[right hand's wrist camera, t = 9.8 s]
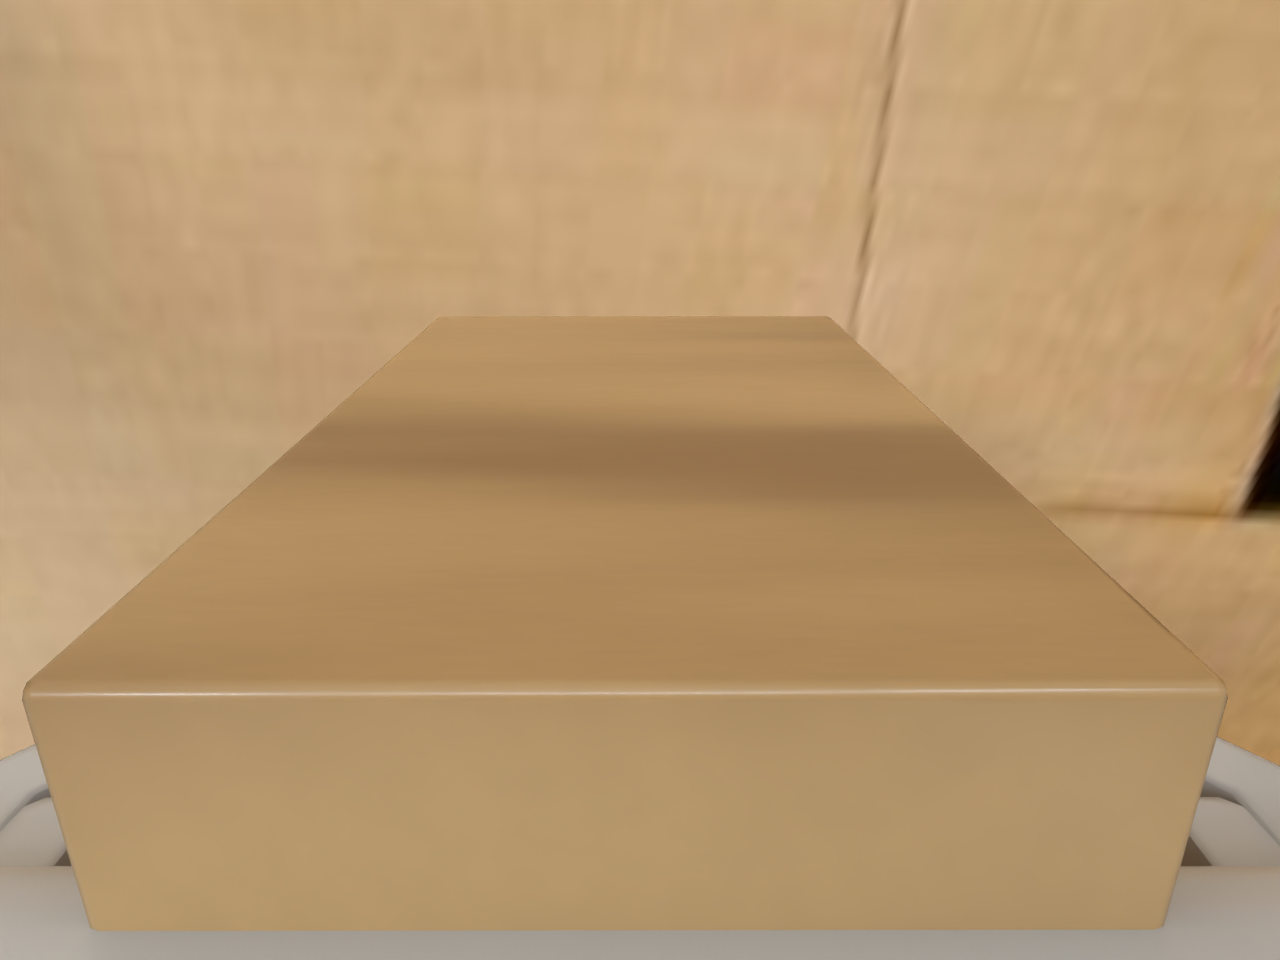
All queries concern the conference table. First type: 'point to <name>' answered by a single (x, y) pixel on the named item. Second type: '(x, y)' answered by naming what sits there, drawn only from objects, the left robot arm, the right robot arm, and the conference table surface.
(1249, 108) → the conference table surface
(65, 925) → the right robot arm
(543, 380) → the bar
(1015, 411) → the conference table surface
